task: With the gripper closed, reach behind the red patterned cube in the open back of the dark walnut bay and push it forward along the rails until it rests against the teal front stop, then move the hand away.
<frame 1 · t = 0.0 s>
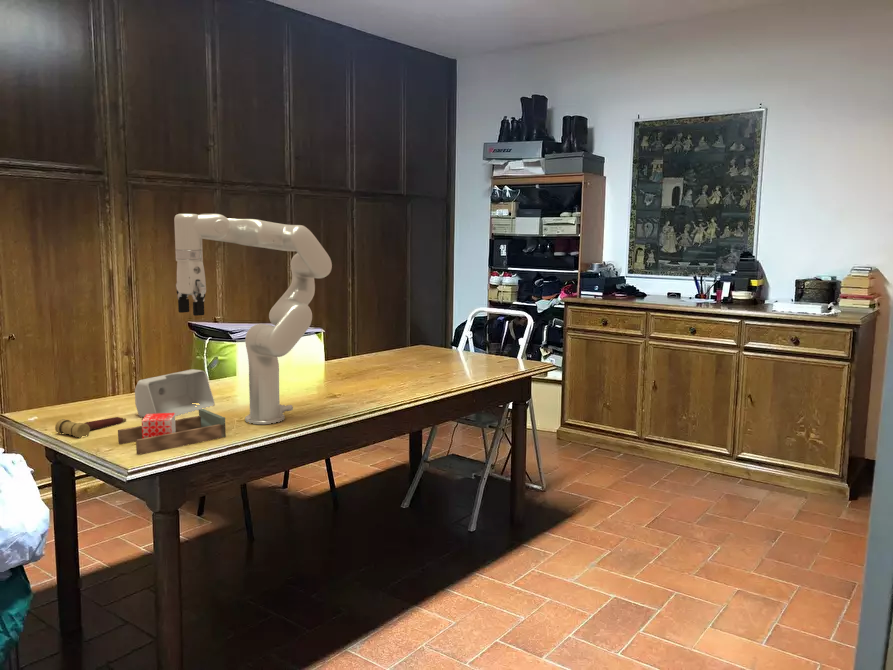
hand: (191, 313, 215), 37 cm above the table, tool pointing down, fingers open, 9 cm apart
gavel: (97, 430, 223), on the table
red patterned cube: (159, 443, 210), resting in crate bay
crate bay: (173, 440, 212), on the table
grey open box shell: (171, 410, 248), on the table
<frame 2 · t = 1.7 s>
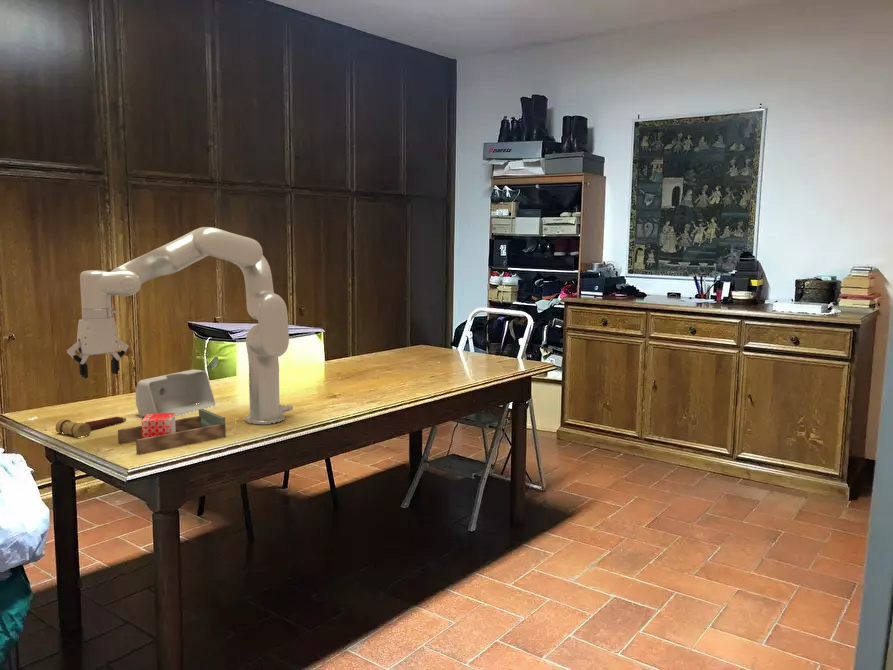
hand: (100, 375, 206), 20 cm above the table, tool pointing down, fingers open, 7 cm apart
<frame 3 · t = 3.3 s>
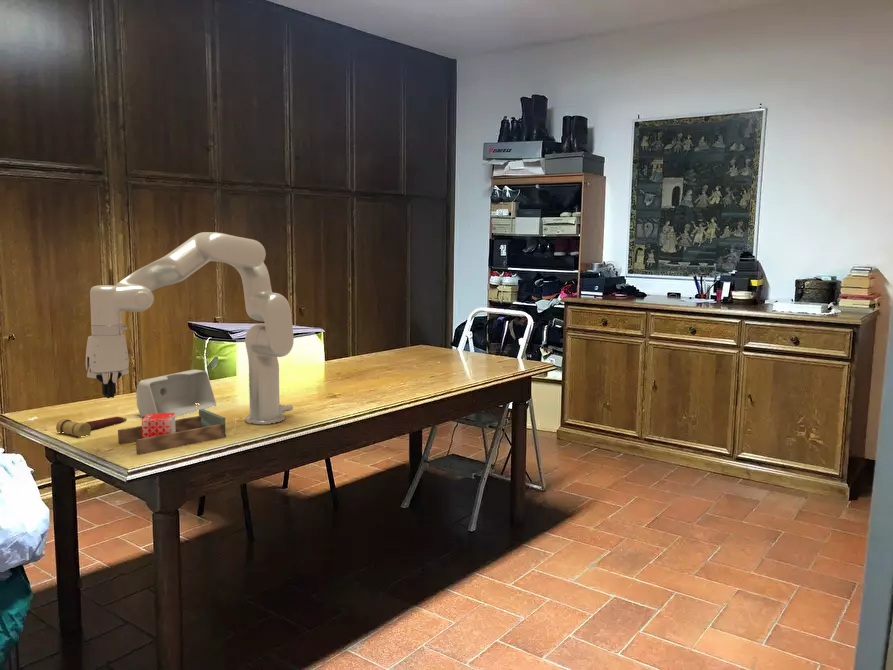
hand: (109, 396, 198), 16 cm above the table, tool pointing down, fingers closed
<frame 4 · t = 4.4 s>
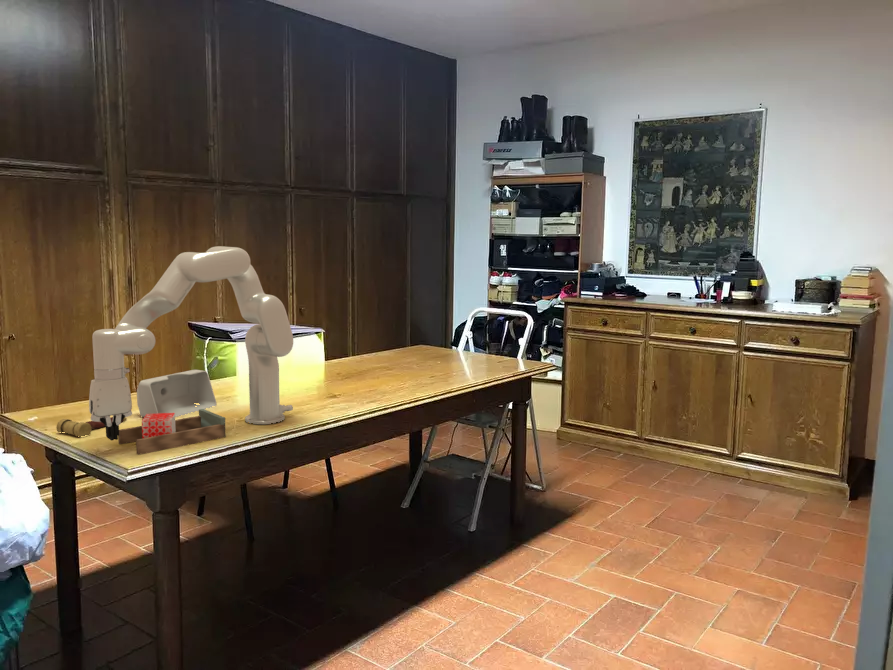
hand: (112, 438, 200), 4 cm above the table, tool pointing down, fingers closed
nothing on the table moved.
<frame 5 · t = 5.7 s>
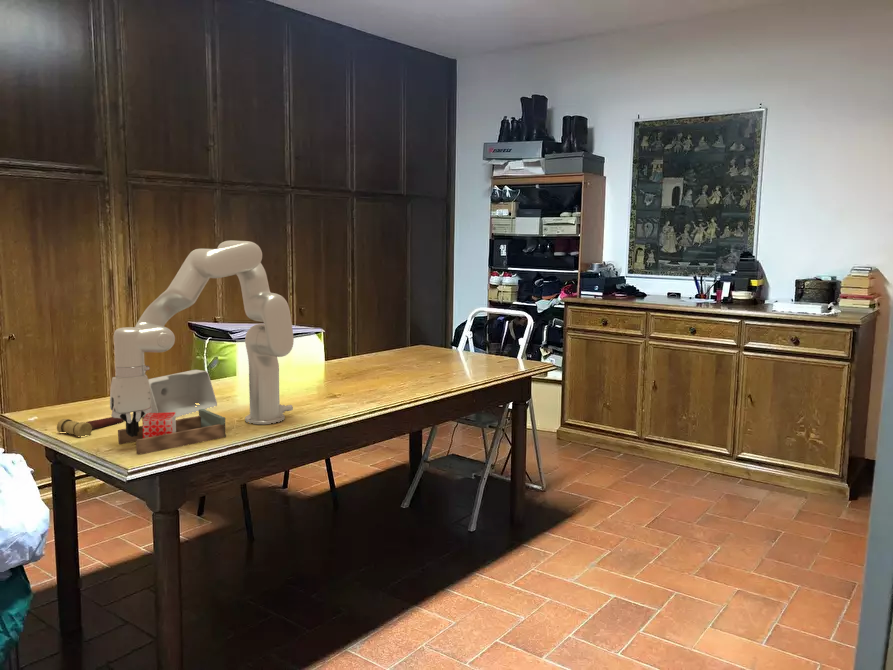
hand: (132, 435, 204), 4 cm above the table, tool pointing down, fingers closed
red patterned cube: (160, 443, 210), resting in crate bay, touching gripper
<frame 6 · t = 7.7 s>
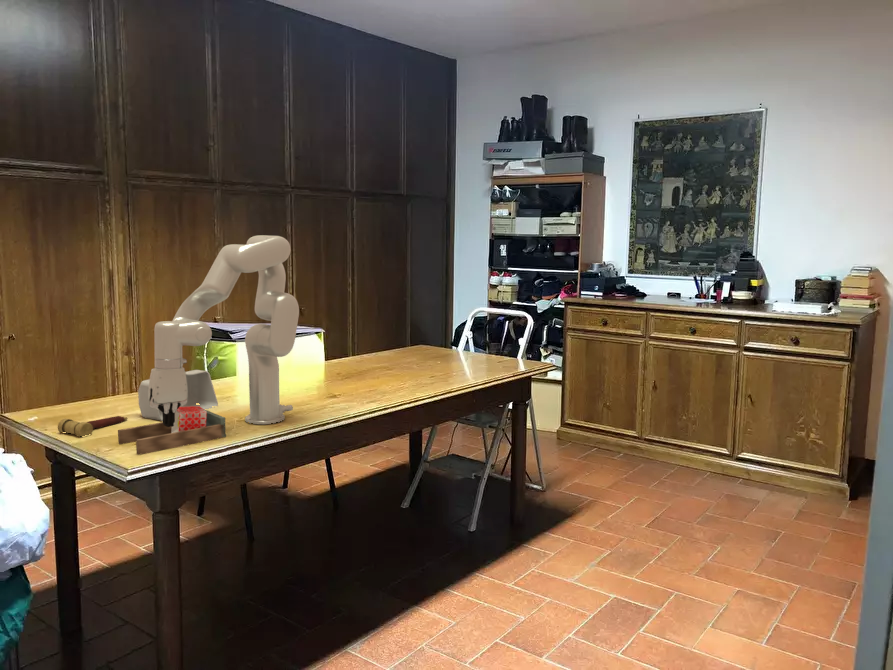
hand: (168, 425, 211), 5 cm above the table, tool pointing down, fingers closed
red patterned cube: (188, 435, 217), resting in crate bay, touching gripper
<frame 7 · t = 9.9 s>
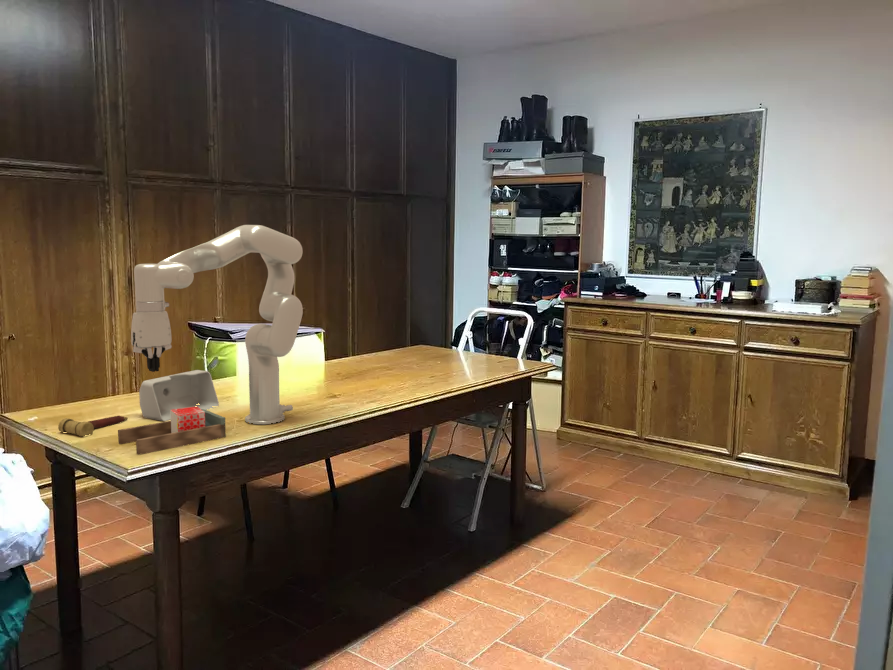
hand: (153, 370, 207), 21 cm above the table, tool pointing down, fingers closed
red patterned cube: (188, 437, 217), resting in crate bay
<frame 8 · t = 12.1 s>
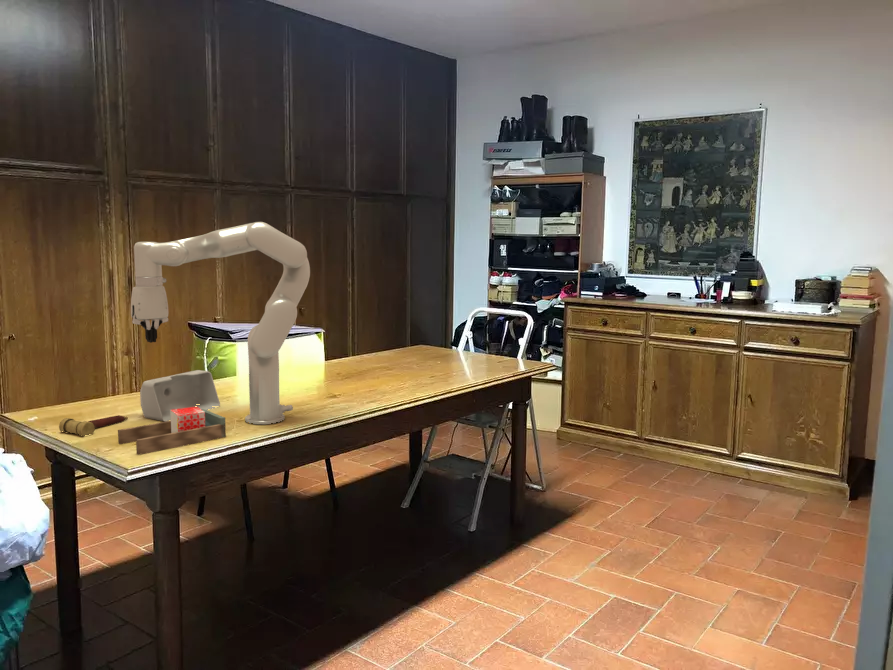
hand: (151, 341, 222), 27 cm above the table, tool pointing down, fingers closed
at the end: red patterned cube inside the target area (1.9 cm from its centre), resting in crate bay; red patterned cube tilted 0° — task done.
